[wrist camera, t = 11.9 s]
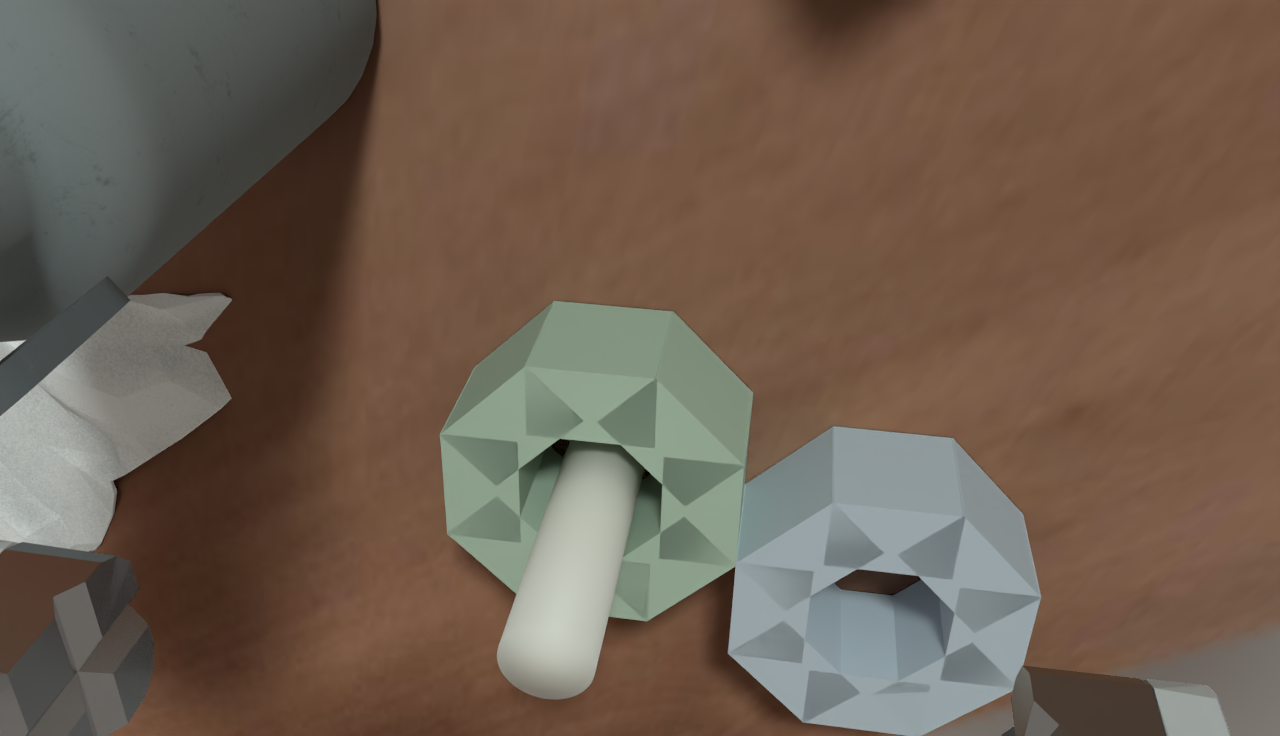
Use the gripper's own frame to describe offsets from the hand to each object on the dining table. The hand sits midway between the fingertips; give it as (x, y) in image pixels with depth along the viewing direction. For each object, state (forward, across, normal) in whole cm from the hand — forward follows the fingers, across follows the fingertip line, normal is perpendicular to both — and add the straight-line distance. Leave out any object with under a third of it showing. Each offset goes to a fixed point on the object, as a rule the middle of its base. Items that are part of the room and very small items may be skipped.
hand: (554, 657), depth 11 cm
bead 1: (+28, +4, +16) cm, 33 cm away
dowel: (+28, +4, +16) cm, 32 cm away
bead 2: (+28, -5, +20) cm, 35 cm away
